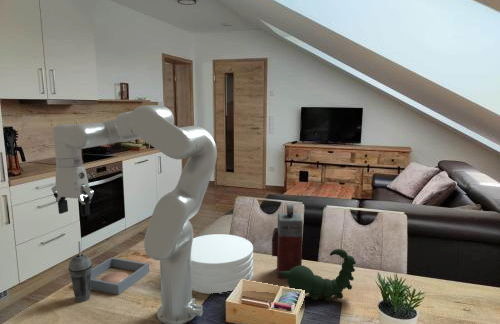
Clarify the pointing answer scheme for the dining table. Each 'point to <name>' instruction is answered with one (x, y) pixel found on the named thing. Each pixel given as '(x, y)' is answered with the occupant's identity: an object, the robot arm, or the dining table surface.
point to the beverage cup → (81, 276)
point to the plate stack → (220, 262)
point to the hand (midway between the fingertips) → (74, 213)
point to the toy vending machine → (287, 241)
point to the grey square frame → (117, 275)
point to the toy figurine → (317, 285)
